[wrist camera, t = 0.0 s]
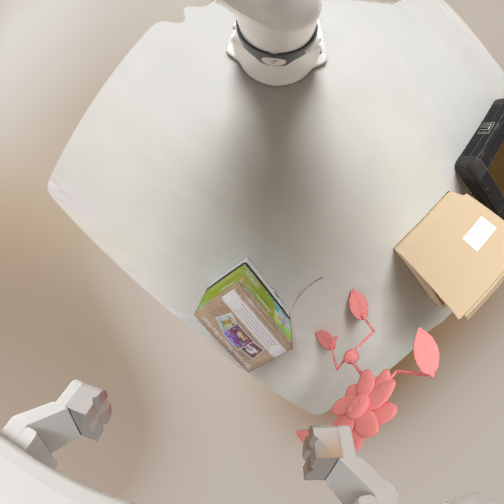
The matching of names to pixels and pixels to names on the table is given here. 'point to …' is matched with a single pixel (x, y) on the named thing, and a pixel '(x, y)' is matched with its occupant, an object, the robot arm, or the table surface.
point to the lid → (463, 257)
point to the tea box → (246, 316)
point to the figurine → (372, 381)
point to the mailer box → (422, 232)
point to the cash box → (486, 161)
